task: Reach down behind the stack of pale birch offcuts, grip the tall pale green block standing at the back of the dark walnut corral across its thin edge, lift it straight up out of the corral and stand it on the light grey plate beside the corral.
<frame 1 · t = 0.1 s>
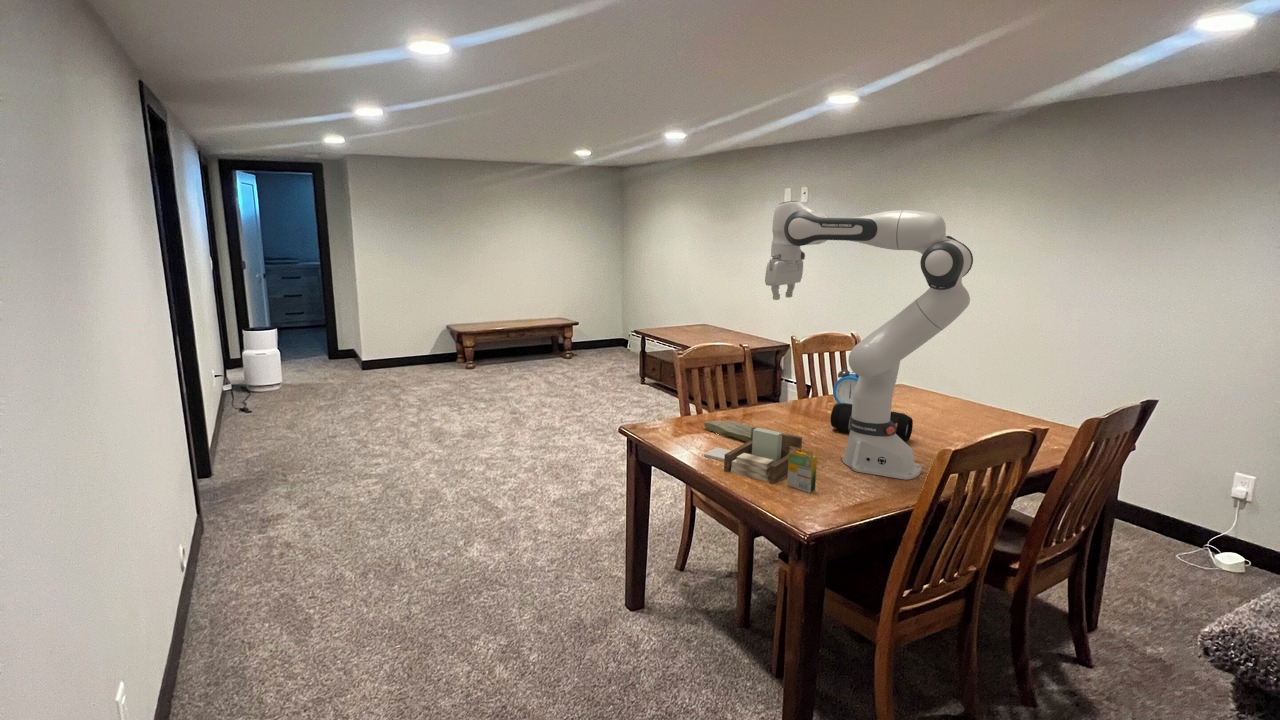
hand: (782, 298, 212), 48 cm above the table, tool pointing down, fingers open, 8 cm apart
pale green block: (765, 466, 200), resting in walnut corral
crayon box: (800, 488, 184), on the table
alarm clock: (849, 408, 267), on the table
stone slab: (745, 438, 228), on the table
walnut corral: (761, 469, 198), on the table
offcut stack: (752, 475, 193), on the table
portable speaker: (869, 436, 231), on the table
grey plate: (725, 456, 208), on the table
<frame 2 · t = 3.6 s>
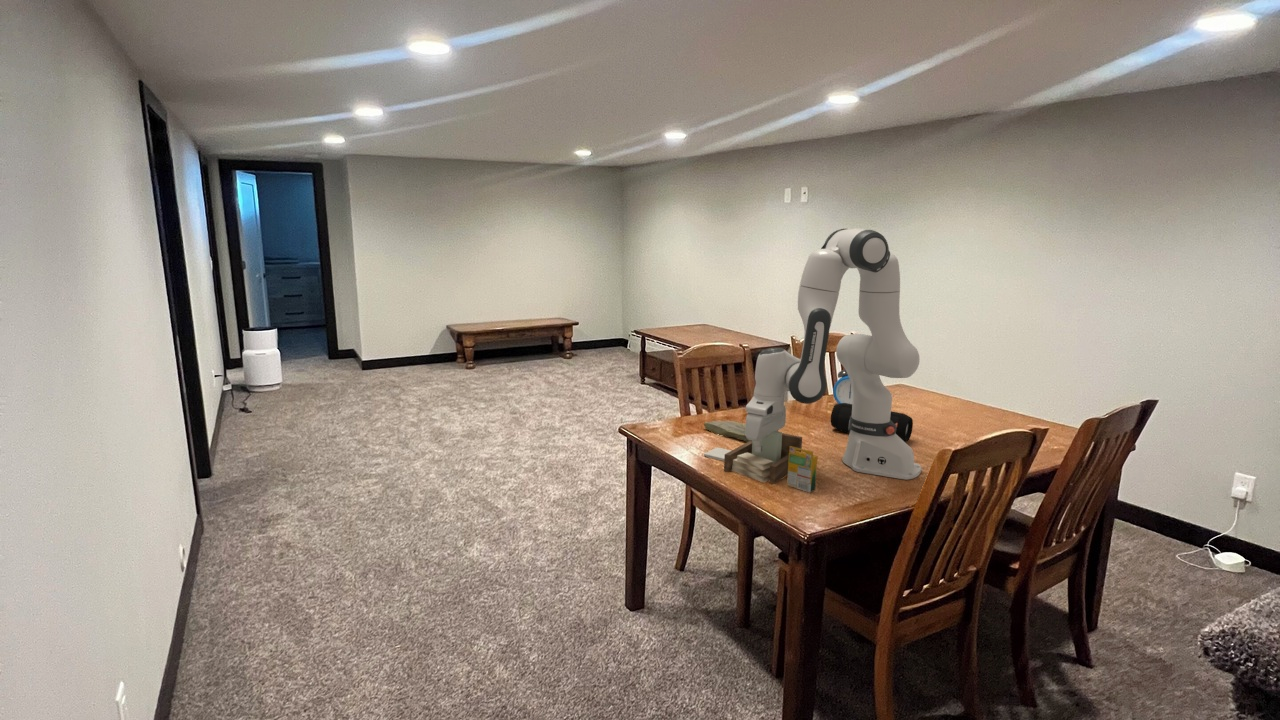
hand: (764, 448, 198), 6 cm above the table, tool pointing down, fingers open, 7 cm apart
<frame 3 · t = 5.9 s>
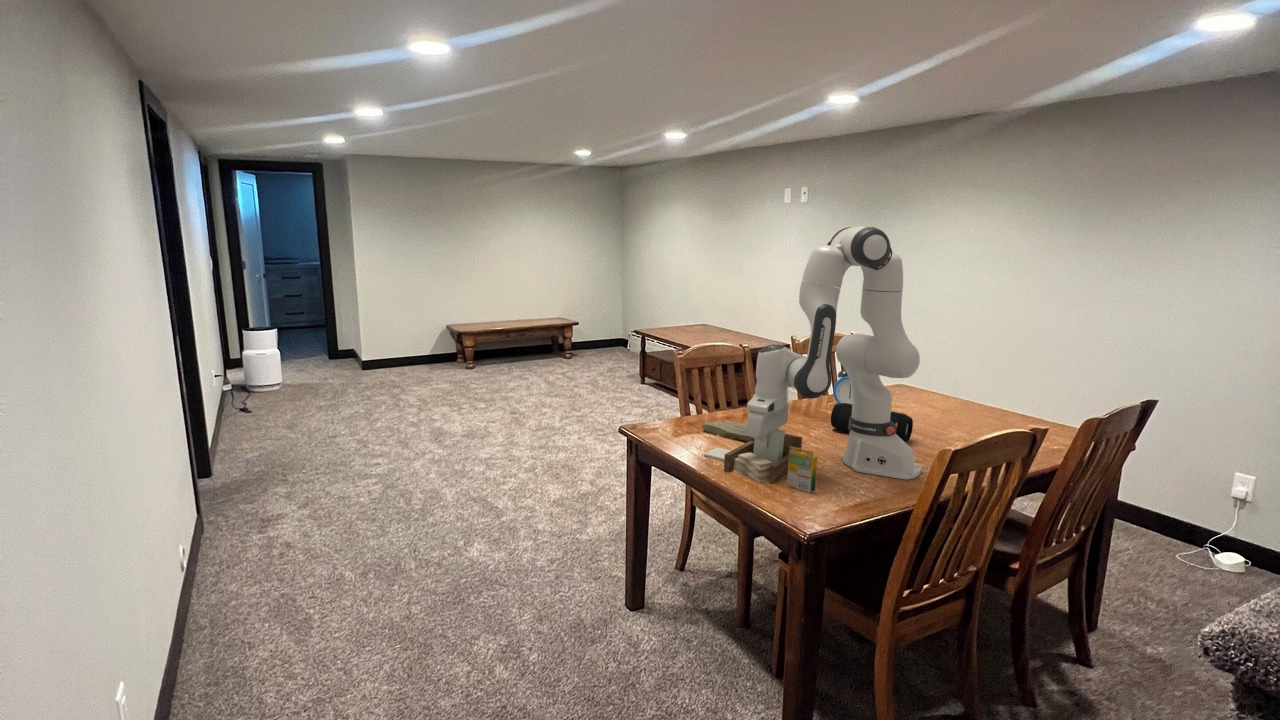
hand: (767, 445, 199), 7 cm above the table, tool pointing down, fingers closed on pale green block, 3 cm apart
pale green block: (766, 465, 199), point 1 cm above the table, tilted 8°, touching gripper
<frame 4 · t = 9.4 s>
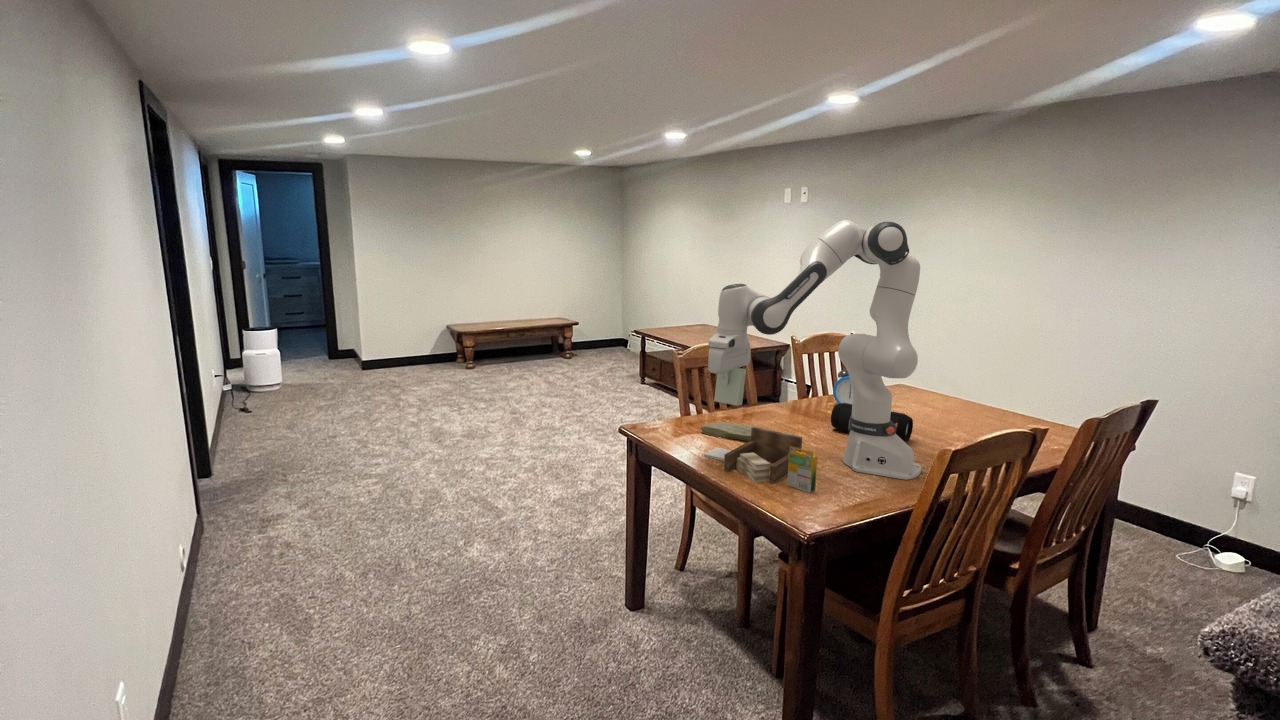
hand: (729, 383, 203), 23 cm above the table, tool pointing down, fingers closed on pale green block, 3 cm apart
pale green block: (728, 403, 203), point 17 cm above the table, tilted 9°, touching gripper
when the fingers open (7 cm above the table, at t = 12.8 s): pale green block stays where it is, resting on grey plate.
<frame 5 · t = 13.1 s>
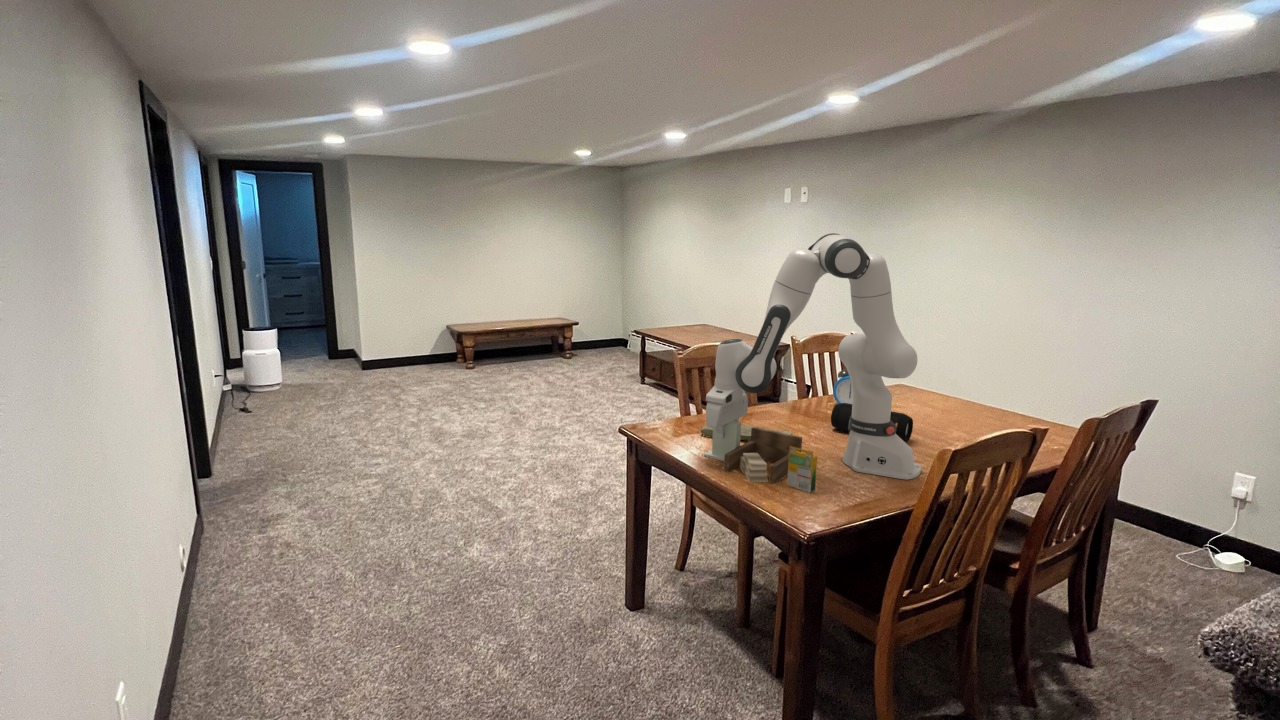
hand: (726, 435, 206), 7 cm above the table, tool pointing down, fingers open, 6 cm apart
pale green block: (725, 455, 206), point 1 cm above the table, touching grey plate
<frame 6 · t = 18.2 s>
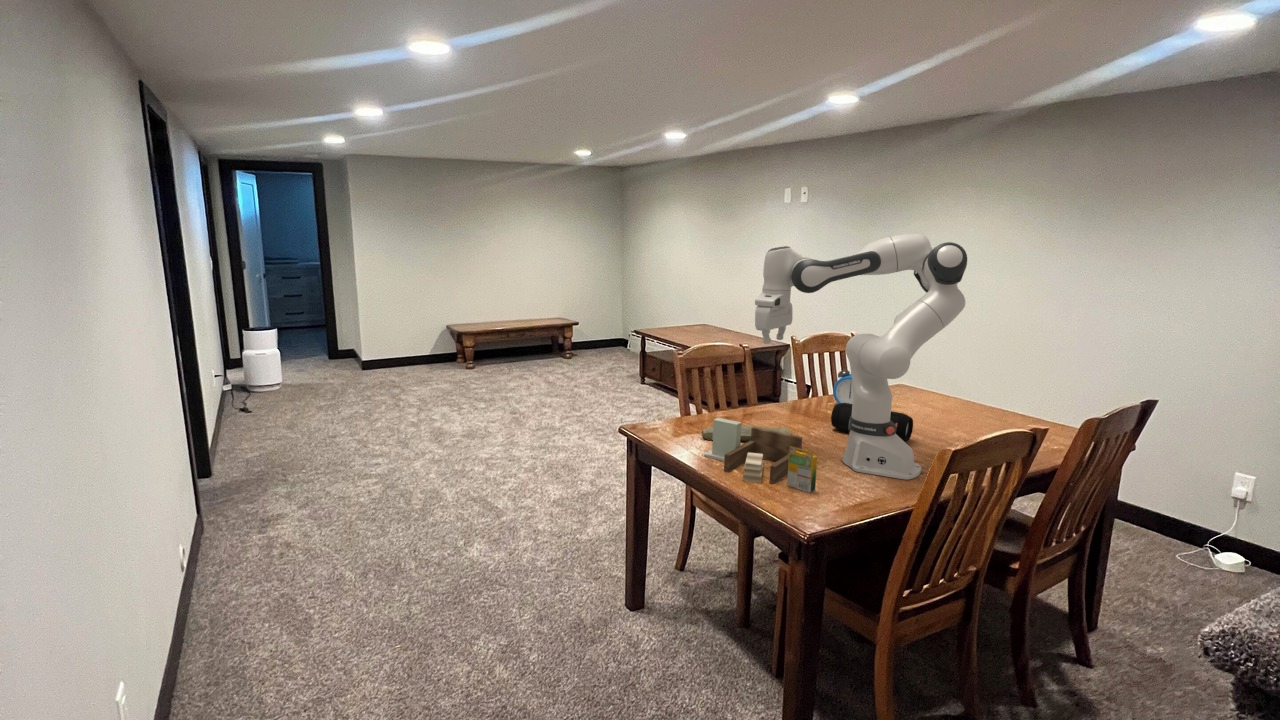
hand: (773, 341, 214), 34 cm above the table, tool pointing down, fingers open, 8 cm apart
at the end: pale green block 1.2 cm off-centre on the grey plate, point 0.8 cm above the grey plate's base; pale green block tilted 0°; offcut stack moved 0.3 cm from its start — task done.
